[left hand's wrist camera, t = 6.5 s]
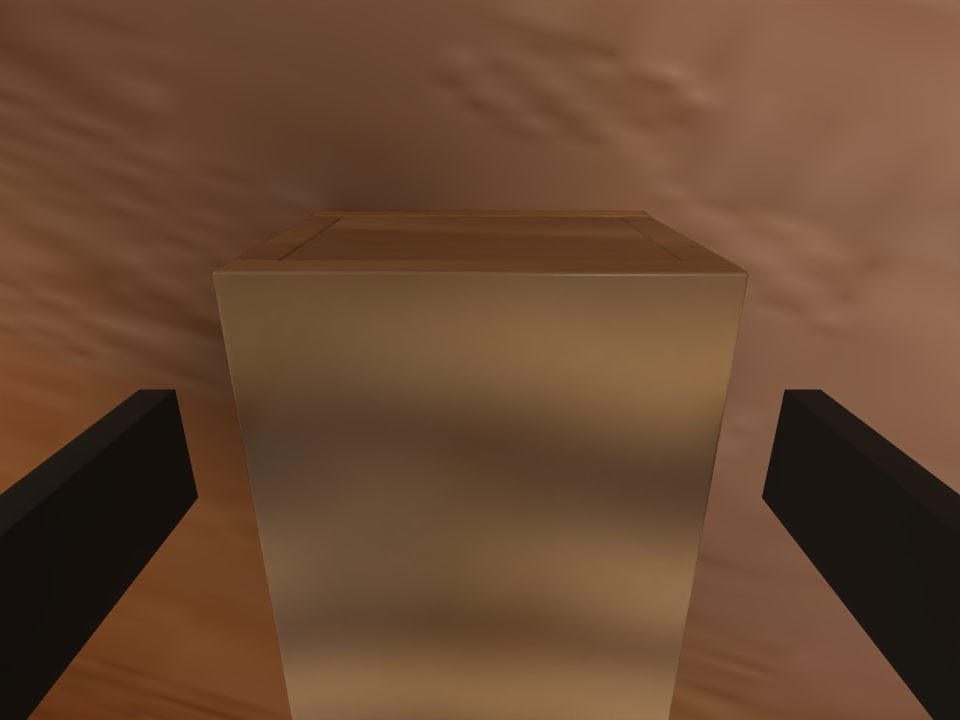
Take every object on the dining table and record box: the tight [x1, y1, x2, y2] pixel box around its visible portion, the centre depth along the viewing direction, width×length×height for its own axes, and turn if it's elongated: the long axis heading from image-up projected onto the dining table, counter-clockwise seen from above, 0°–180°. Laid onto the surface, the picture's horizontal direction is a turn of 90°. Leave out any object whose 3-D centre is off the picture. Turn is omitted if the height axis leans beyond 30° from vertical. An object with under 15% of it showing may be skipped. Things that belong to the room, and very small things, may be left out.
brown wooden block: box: [213, 211, 748, 720], centre depth 20 cm, size 20×11×8 cm, turn 0°
